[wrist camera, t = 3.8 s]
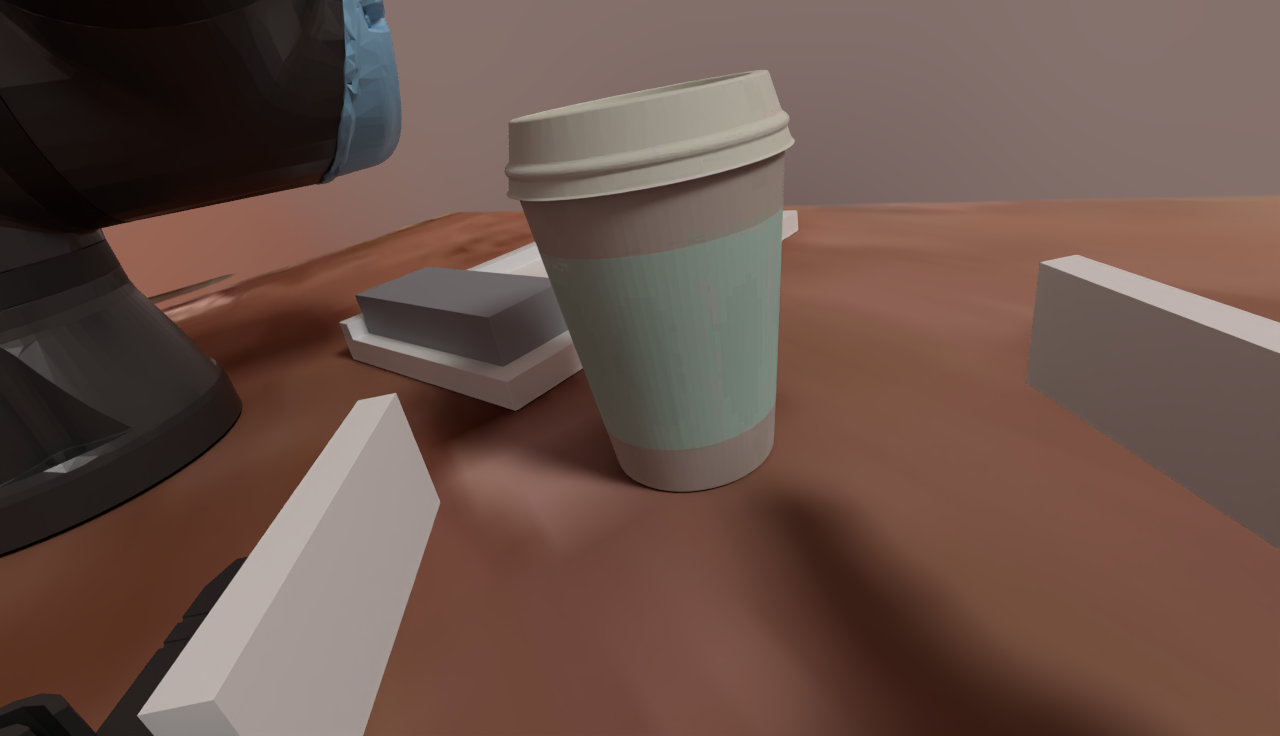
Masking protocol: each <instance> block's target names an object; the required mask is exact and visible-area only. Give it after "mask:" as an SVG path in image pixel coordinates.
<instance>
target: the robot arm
mask: <svg viewBox="0 0 1280 736" xmlns="http://www.w3.org/2000/svg"><path fill="white" fill-rule="evenodd" d="M384 15H385V10H384V6H383V0H0V554H3V553H5V552H8V551H11V550H14V549H17V548H19V547H22V546H25V545H27V544H30V543H32V542H35V541H37V540H40V539H42V538H45V537H47V536H50V535H52V534H54V533H57V532H59V531H62V530H64V529H66V528H68V527H71V526H73V525H75V524H77V523H80V522H82V521H84V520H86V519H88V518H90V517H92V516H95V515H97V514H99V513H101V512H103V511H105V510H107V509H109V508H111V507H113V506H115V505H117V504H119V503H121V502H123V501H125V500H126V499H128V498H130V497H132V496H134V495H136V494H137V493H139V492H141V491H143V490H145V489H146V488H148V487H150V486H152V485H153V484H155V483H157V482H158V481H160V480H162V479H163V478H165V477H167V476H168V475H170V474H172V473H173V472H175V471H176V470H178V469H179V468H181V467H182V466H184V465H185V464H187V463H188V462H190V461H191V460H193V459H194V458H195V457H197V456H198V455H199V454H201V453H202V452H203V451H205V450H206V449H207V448H208V447H210V446H211V445H212V444H213V443H214V442H216V441H217V440H218V439H219V438H220V437H221V436H222V435H223V434H224V433H225V432H226V431H227V430H228V429H229V428H230V427H231V426H232V424H233V423H234V422H235V420H236V419H237V417H238V416H239V414H240V411H241V408H242V402H241V399H240V398H239V396H238V394H237V392H236V390H235V388H234V386H233V385H232V383H231V381H230V379H229V377H228V375H227V373H226V372H225V370H224V369H223V368H222V366H221V365H220V364H219V363H218V362H217V361H216V360H215V359H213V358H210V357H209V356H207V355H206V354H205V353H204V352H203V351H202V350H201V349H200V348H199V347H198V346H197V345H196V344H195V343H194V342H193V341H192V340H191V339H190V338H189V337H188V336H187V335H186V334H185V333H184V332H183V331H182V330H181V329H180V328H179V327H178V326H177V325H176V324H175V323H174V322H173V321H172V320H171V319H170V318H169V317H167V316H166V315H165V314H164V313H163V312H162V311H161V310H160V309H159V308H158V307H157V306H156V305H154V304H153V303H152V302H151V301H150V300H149V299H148V298H147V297H146V296H145V295H143V294H142V293H141V292H140V291H139V290H138V289H137V288H136V287H135V286H134V284H133V283H132V282H131V281H130V279H129V278H128V276H127V275H126V273H125V271H124V270H123V268H122V266H121V265H120V263H119V261H118V259H117V258H116V256H115V254H114V253H113V251H112V249H111V247H110V246H109V244H108V242H107V241H106V239H105V236H104V234H103V231H102V229H101V228H104V227H109V226H113V225H118V224H122V223H126V222H127V223H128V222H132V221H136V220H141V219H146V218H151V217H156V216H161V215H166V214H171V213H176V212H181V211H185V210H190V209H195V208H200V207H205V206H210V205H215V204H220V203H225V202H230V201H235V200H239V199H244V198H249V197H254V196H259V195H264V194H269V193H274V192H279V191H283V190H289V189H294V188H299V187H303V186H308V185H313V184H317V185H318V184H325V183H328V182H330V181H332V180H334V179H335V178H336V177H338V176H342V175H345V174H349V173H352V172H355V171H359V170H362V169H366V168H369V167H373V166H376V165H379V164H380V163H382V162H384V161H385V160H387V159H388V158H389V157H390V156H391V155H392V154H393V152H394V150H395V149H396V147H397V144H398V142H399V138H400V133H401V99H400V88H399V80H398V72H397V65H396V59H395V53H394V48H393V43H392V38H391V33H390V30H389V27H388V25H387V23H386V21H385V19H384ZM1026 383H1027V384H1029V385H1030V386H1032V387H1033V388H1035V389H1036V390H1038V391H1039V392H1041V393H1042V394H1044V395H1046V396H1047V397H1049V398H1050V399H1052V400H1053V401H1055V402H1056V403H1058V404H1059V405H1061V406H1062V407H1064V408H1065V409H1067V410H1068V411H1070V412H1071V413H1073V414H1074V415H1076V416H1077V417H1079V418H1080V419H1082V420H1083V421H1085V422H1086V423H1088V424H1090V425H1091V426H1093V427H1094V428H1096V429H1097V430H1099V431H1100V432H1102V433H1103V434H1105V435H1106V436H1108V437H1109V438H1111V439H1112V440H1114V441H1115V442H1117V443H1118V444H1120V445H1121V446H1123V447H1124V448H1126V449H1127V450H1129V451H1130V452H1132V453H1133V454H1135V455H1137V456H1138V457H1140V458H1141V459H1143V460H1144V461H1146V462H1147V463H1149V464H1150V465H1152V466H1153V467H1155V468H1156V469H1158V470H1159V471H1161V472H1162V473H1164V474H1165V475H1167V476H1168V477H1170V478H1171V479H1173V480H1174V481H1176V482H1177V483H1179V484H1180V485H1182V486H1184V487H1185V488H1187V489H1188V490H1190V491H1191V492H1193V493H1194V494H1196V495H1197V496H1199V497H1200V498H1202V499H1203V500H1205V501H1206V502H1208V503H1209V504H1211V505H1212V506H1214V507H1215V508H1217V509H1218V510H1220V511H1221V512H1223V513H1224V514H1226V515H1227V516H1229V517H1231V518H1232V519H1234V520H1235V521H1237V522H1238V523H1240V524H1241V525H1243V526H1244V527H1246V528H1247V529H1249V530H1250V531H1252V532H1253V533H1255V534H1256V535H1258V536H1259V537H1261V538H1262V539H1264V540H1265V541H1267V542H1268V543H1270V544H1271V545H1273V546H1274V547H1276V548H1278V549H1279V550H1280V323H1279V322H1276V321H1273V320H1270V319H1267V318H1264V317H1261V316H1258V315H1255V314H1252V313H1249V312H1246V311H1243V310H1240V309H1237V308H1234V307H1231V306H1228V305H1225V304H1222V303H1219V302H1216V301H1213V300H1210V299H1207V298H1204V297H1201V296H1198V295H1195V294H1192V293H1189V292H1186V291H1183V290H1180V289H1177V288H1174V287H1171V286H1168V285H1165V284H1163V283H1160V282H1157V281H1154V280H1151V279H1148V278H1145V277H1142V276H1139V275H1136V274H1133V273H1130V272H1127V271H1124V270H1121V269H1118V268H1115V267H1112V266H1109V265H1106V264H1103V263H1100V262H1097V261H1094V260H1091V259H1088V258H1085V257H1082V256H1079V255H1073V256H1068V257H1064V258H1059V259H1054V260H1049V261H1044V262H1040V265H1039V273H1038V282H1037V291H1036V299H1035V308H1034V317H1033V325H1032V334H1031V343H1030V352H1029V360H1028V369H1027V378H1026ZM439 505H440V500H439V498H438V495H437V493H436V490H435V488H434V485H433V483H432V480H431V478H430V476H429V473H428V471H427V468H426V466H425V463H424V461H423V458H422V456H421V453H420V451H419V448H418V446H417V443H416V441H415V439H414V436H413V434H412V431H411V429H410V426H409V424H408V421H407V419H406V416H405V414H404V411H403V409H402V406H401V404H400V401H399V399H398V397H397V394H396V393H393V394H388V395H383V396H378V397H373V398H369V399H364V400H359V401H357V403H356V404H355V406H354V407H353V409H352V410H351V411H350V413H349V414H348V416H347V417H346V419H345V420H344V421H343V423H342V424H341V426H340V427H339V429H338V430H337V431H336V433H335V434H334V436H333V437H332V439H331V440H330V441H329V443H328V444H327V446H326V447H325V449H324V450H323V451H322V453H321V454H320V456H319V457H318V458H317V460H316V461H315V463H314V464H313V466H312V467H311V468H310V470H309V471H308V473H307V474H306V476H305V477H304V478H303V480H302V481H301V483H300V484H299V486H298V487H297V488H296V490H295V491H294V493H293V494H292V496H291V497H290V498H289V500H288V501H287V503H286V504H285V506H284V507H283V508H282V510H281V511H280V513H279V514H278V515H277V517H276V518H275V520H274V521H273V523H272V524H271V525H270V527H269V528H268V530H267V531H266V533H265V534H264V535H263V537H262V538H261V540H260V541H259V543H258V544H257V545H256V547H255V548H254V550H253V551H252V553H251V554H250V555H249V557H245V558H240V559H236V560H235V561H234V562H233V563H232V564H231V565H230V566H228V567H227V568H226V569H225V570H224V571H223V572H221V573H220V574H219V575H218V576H217V577H216V578H215V579H213V580H212V581H211V582H210V583H209V584H208V585H207V586H205V587H204V589H203V590H202V591H201V593H200V594H199V595H198V597H197V598H196V599H195V601H194V602H193V603H192V605H191V606H190V608H189V609H188V610H187V612H186V613H185V614H184V616H183V622H181V623H178V624H177V625H176V626H175V628H174V629H173V630H172V632H171V633H170V634H169V636H168V637H167V638H166V640H165V641H164V642H163V643H164V647H163V648H161V649H158V650H157V652H156V653H155V654H154V656H153V657H152V658H151V660H150V661H149V662H148V664H147V665H146V666H145V668H144V669H143V670H142V672H141V673H140V674H139V676H138V677H137V678H136V680H135V681H134V682H133V684H132V685H131V687H130V688H129V689H128V691H127V692H126V693H125V695H124V696H123V697H122V699H121V700H120V701H119V703H118V704H117V705H116V707H115V708H114V709H113V711H112V712H111V713H110V715H109V716H108V717H107V719H106V720H105V721H104V723H103V724H102V725H101V727H100V728H99V729H98V731H97V732H96V733H95V732H94V731H93V730H92V729H91V728H90V726H89V725H88V724H87V723H86V722H85V721H84V720H83V719H82V718H81V717H80V715H79V714H78V713H77V712H76V711H75V710H74V709H73V708H72V707H71V706H70V704H69V703H68V702H67V701H66V700H65V699H64V698H63V697H62V696H61V695H56V694H38V695H35V696H31V697H28V698H24V699H21V700H17V701H14V702H12V703H10V704H8V705H6V706H4V707H2V708H0V736H363V734H364V731H365V728H366V725H367V722H368V719H369V716H370V713H371V710H372V707H373V704H374V701H375V698H376V695H377V692H378V689H379V686H380V683H381V680H382V677H383V674H384V671H385V668H386V665H387V662H388V659H389V656H390V653H391V650H392V647H393V644H394V641H395V638H396V634H397V631H398V628H399V625H400V622H401V619H402V616H403V613H404V610H405V607H406V604H407V601H408V598H409V595H410V592H411V589H412V586H413V583H414V580H415V577H416V574H417V571H418V568H419V565H420V562H421V559H422V556H423V553H424V550H425V547H426V544H427V541H428V538H429V535H430V532H431V529H432V526H433V523H434V520H435V517H436V514H437V511H438V508H439Z"/></svg>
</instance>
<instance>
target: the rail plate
mask: <svg viewBox="0 0 1280 736" xmlns="http://www.w3.org/2000/svg"><path fill="white" fill-rule="evenodd" d="M797 231H798V218H797V211H783V220H782V241H783V240H784V239H786V238H787V237H789V236H790V235H792V234H794V233H795V232H797ZM355 296H356V298H357V301H358V303H359V306H360V308H361V311H362V313H361V314H359V315H356V316H354V317H351V318H349V319H346V320H344V321H341V322H339V324H340V326H341V328H342V331H343V333H344V335H345V337H344V338H345V341H346V343H347V345H348V348H349V350H350V352H351V355H352V357H353V359H355V360H358V361H361V362H364V363H367V364H370V365H373V366H376V367H380V368H383V369H386V370H389V371H392V372H395V373H398V374H402V375H405V376H408V377H411V378H414V379H417V380H420V381H423V382H427V383H430V384H433V385H436V386H439V387H442V388H445V389H449V390H452V391H455V392H458V393H461V394H464V395H467V396H470V397H474V398H477V399H480V400H483V401H486V402H489V403H492V404H496V405H499V406H502V407H505V408H508V409H511V410H514V411H517V410H518V409H520V408H522V407H523V406H525V405H526V404H528V403H529V402H531V401H532V400H534V399H536V398H537V397H539V396H540V395H542V394H543V393H545V392H547V391H548V390H550V389H551V388H553V387H554V386H556V385H557V384H559V383H561V382H562V381H564V380H565V379H567V378H568V377H570V376H572V375H573V374H575V373H576V372H578V371H579V370H581V369H582V368H583V367H582V365H581V362H580V359H579V357H578V354H577V351H576V349H575V346H574V343H573V341H572V338H571V335H570V333H569V330H568V327H567V325H566V322H565V320H564V317H563V314H562V312H561V309H560V306H559V304H558V301H557V298H556V296H555V293H554V290H553V288H552V285H551V282H550V280H549V277H548V275H547V272H546V269H545V267H544V264H543V261H542V259H541V256H540V253H539V251H538V248H537V245H536V242H534V243H531V244H529V245H526V246H524V247H521V248H519V249H516V250H514V251H512V252H509V253H507V254H504V255H502V256H499V257H497V258H495V259H492V260H490V261H487V262H485V263H482V264H480V265H478V266H475V267H473V268H470V269H468V270H459V269H448V268H437V267H426V268H423V269H420V270H418V271H415V272H413V273H410V274H407V275H405V276H402V277H400V278H397V279H395V280H392V281H389V282H387V283H384V284H382V285H379V286H376V287H374V288H371V289H369V290H366V291H364V292H361V293H358V294H356V295H355Z"/></svg>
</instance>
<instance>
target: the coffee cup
mask: <svg viewBox="0 0 1280 736" xmlns="http://www.w3.org/2000/svg"><path fill="white" fill-rule="evenodd" d="M788 123H789V116H788V114H787V113H785V112H784V111H783V110H782V109H781V107H780V104H779V101H778V98H777V95H776V92H775V89H774V86H773V83H772V80H771V77H770V74H769V72H768V71H767V70H758V71H751V72H744V73H738V74H731V75H726V76H719V77H713V78H708V79H702V80H696V81H691V82H685V83H680V84H675V85H669V86H664V87H659V88H654V89H649V90H644V91H638V92H633V93H629V94H623V95H618V96H613V97H609V98H604V99H599V100H594V101H589V102H584V103H580V104H575V105H571V106H566V107H562V108H557V109H552V110H548V111H544V112H540V113H535V114H531V115H527V116H523V117H519V118H516V119H513V120H511V121H510V122H509V163H508V165H507V166H506V168H505V174H506V176H507V177H508V178H509V191H508V192H507V196H508V197H509V198H512V199H515V200H520V202H521V205H522V207H523V210H524V213H525V216H526V218H527V221H528V224H529V226H530V229H531V232H532V234H533V237H534V240H535V242H536V245H537V248H538V251H539V253H540V256H541V259H542V261H543V264H544V267H545V269H546V272H547V275H548V277H549V280H550V282H551V285H552V288H553V290H554V293H555V296H556V298H557V301H558V304H559V306H560V309H561V312H562V314H563V317H564V320H565V322H566V325H567V327H568V330H569V333H570V335H571V338H572V341H573V343H574V346H575V349H576V351H577V354H578V357H579V359H580V362H581V365H582V367H583V370H584V373H585V375H586V378H587V380H588V383H589V386H590V388H591V391H592V394H593V396H594V399H595V402H596V404H597V407H598V410H599V412H600V415H601V418H602V420H603V423H604V425H605V428H606V430H607V433H608V436H609V438H610V441H611V443H612V446H613V448H614V451H615V454H616V456H617V459H618V461H619V464H620V466H621V468H622V469H623V471H624V472H625V473H626V474H627V475H628V476H629V477H630V478H632V479H633V480H635V481H637V482H639V483H641V484H643V485H646V486H648V487H652V488H655V489H659V490H666V491H676V492H690V491H700V490H706V489H711V488H715V487H719V486H722V485H726V484H728V483H731V482H733V481H736V480H738V479H740V478H742V477H744V476H746V475H747V474H749V473H750V472H752V471H753V470H755V469H756V468H757V467H758V466H759V465H760V464H762V462H763V461H764V460H765V459H766V458H767V456H768V455H769V453H770V451H771V449H772V447H773V443H774V426H775V403H776V380H777V353H778V326H779V300H780V273H781V246H782V220H783V187H784V157H785V150H786V149H787V148H789V147H790V146H792V145H793V143H794V141H795V140H794V138H792V137H791V135H790V132H789V129H788V126H787V125H788Z"/></svg>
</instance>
